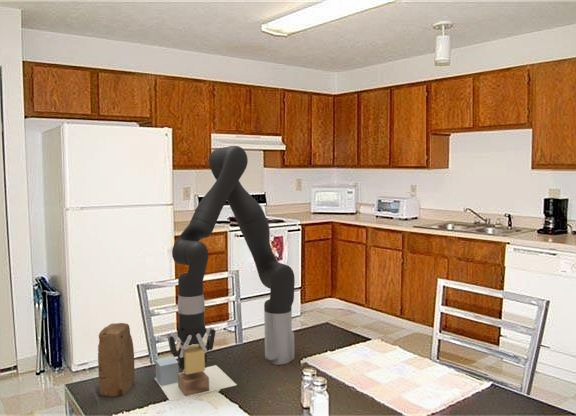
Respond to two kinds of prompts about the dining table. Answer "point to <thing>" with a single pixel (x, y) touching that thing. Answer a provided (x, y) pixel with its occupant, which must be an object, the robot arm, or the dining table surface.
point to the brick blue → (167, 371)
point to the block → (115, 360)
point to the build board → (215, 383)
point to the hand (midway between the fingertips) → (192, 366)
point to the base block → (193, 383)
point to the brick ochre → (194, 359)
